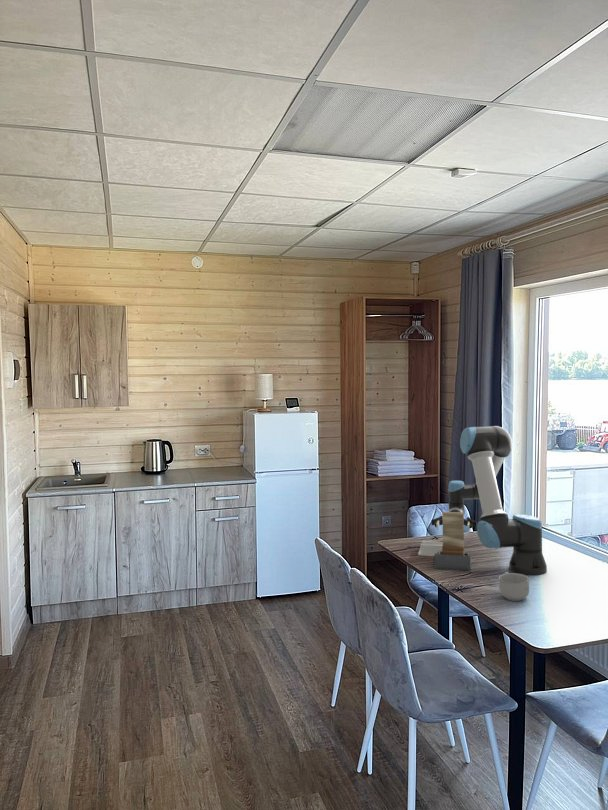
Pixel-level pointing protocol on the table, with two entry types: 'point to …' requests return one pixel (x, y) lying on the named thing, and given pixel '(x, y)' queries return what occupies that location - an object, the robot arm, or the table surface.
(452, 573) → the table surface
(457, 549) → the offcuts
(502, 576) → the teacup
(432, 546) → the stand
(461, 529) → the birch sheet
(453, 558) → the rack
